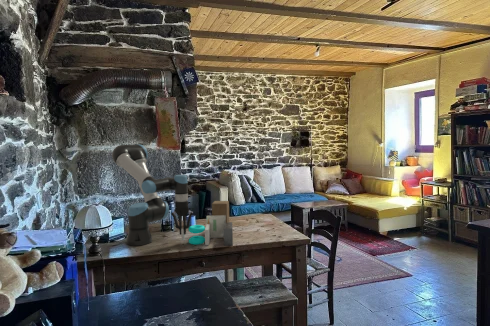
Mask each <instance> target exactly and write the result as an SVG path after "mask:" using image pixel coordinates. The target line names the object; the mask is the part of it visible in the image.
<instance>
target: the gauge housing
mask: <svg viewBox="0 0 490 326" xmlns="http://www.w3.org/2000/svg"><path fill="white" fill-rule="evenodd" d="M208 219H209V224H210V239H216V238H217V239H218V238H223V246H226V247H227V246H228V247H229V246H234V243H233V239H234V238H233V237H234V236H233V222H232V221H231V222H230V221H229V222H226V215H214V216H212V215H206V224H208Z"/></svg>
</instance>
